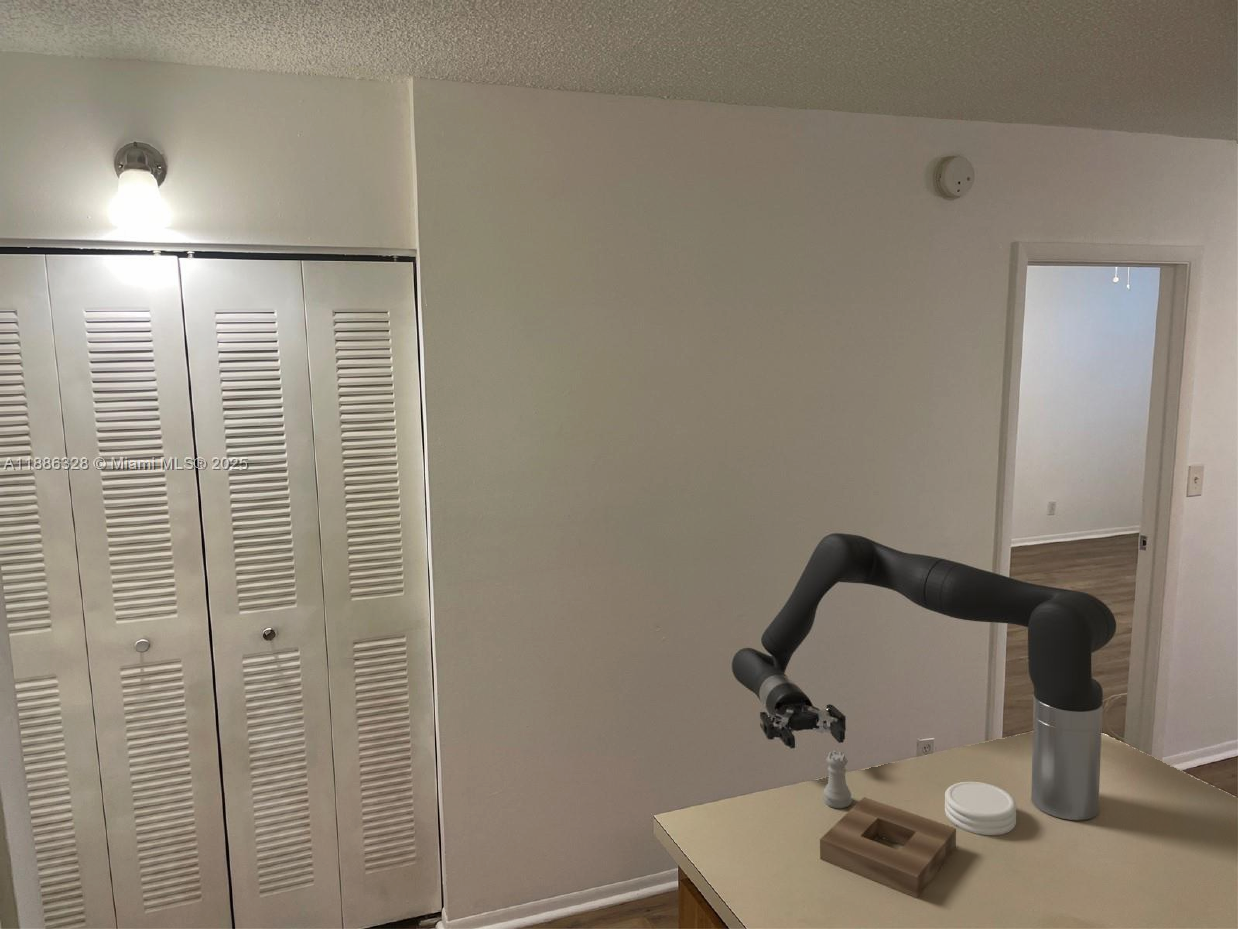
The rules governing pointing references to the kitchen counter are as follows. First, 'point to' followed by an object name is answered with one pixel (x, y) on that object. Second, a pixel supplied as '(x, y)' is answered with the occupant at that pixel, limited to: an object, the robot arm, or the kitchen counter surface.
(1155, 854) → the kitchen counter surface
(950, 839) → the socket block
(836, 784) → the rook chess piece
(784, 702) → the robot arm
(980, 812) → the coaster
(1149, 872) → the kitchen counter surface
